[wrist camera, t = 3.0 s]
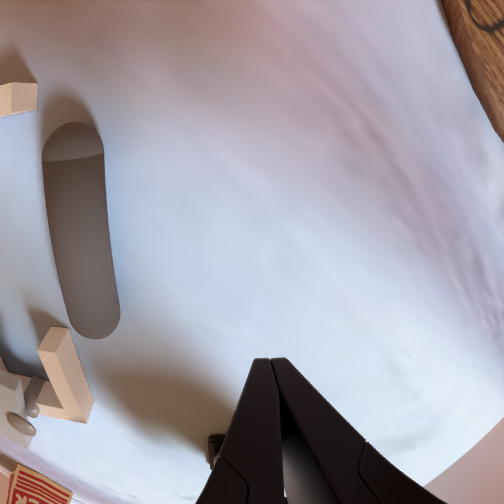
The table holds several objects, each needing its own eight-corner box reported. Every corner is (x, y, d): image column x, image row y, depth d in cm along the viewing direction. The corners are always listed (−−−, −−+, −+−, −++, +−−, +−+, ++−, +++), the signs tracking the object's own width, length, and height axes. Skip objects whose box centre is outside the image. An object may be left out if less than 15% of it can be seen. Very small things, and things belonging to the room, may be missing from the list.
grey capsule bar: (129, 319, 19) (117, 352, 16) (84, 316, 19) (67, 347, 16) (112, 118, 14) (88, 121, 11) (59, 124, 14) (28, 129, 11)
